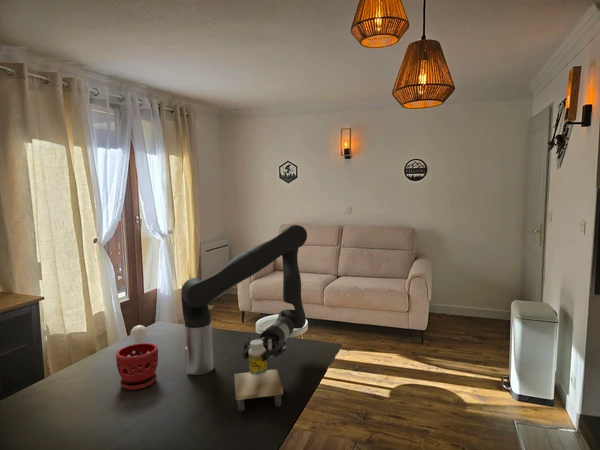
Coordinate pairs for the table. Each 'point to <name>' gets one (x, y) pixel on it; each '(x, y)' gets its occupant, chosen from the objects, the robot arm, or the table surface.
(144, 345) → the plant pot
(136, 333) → the lightbulb
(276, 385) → the peg shelf
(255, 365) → the supplement bottle
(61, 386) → the table surface
